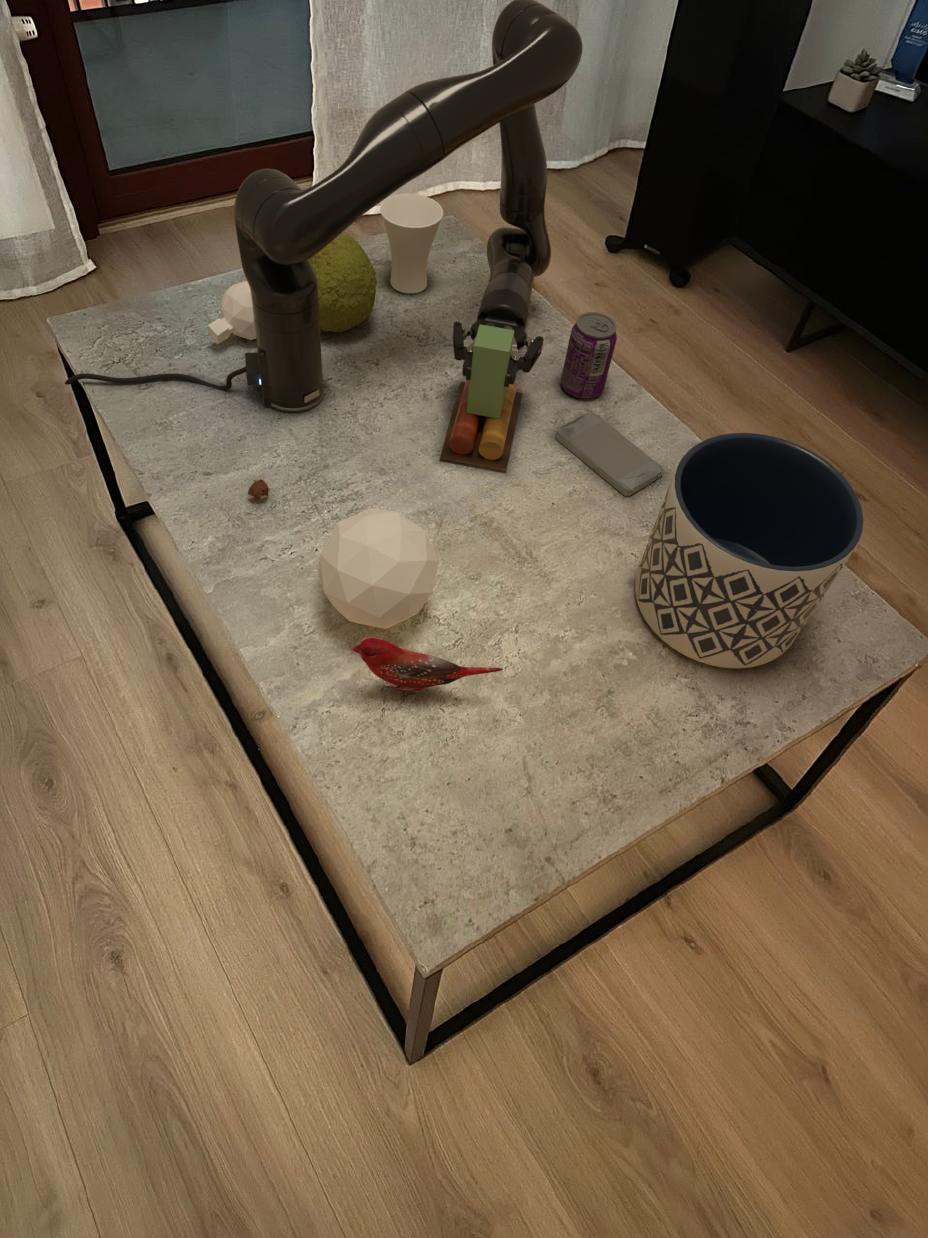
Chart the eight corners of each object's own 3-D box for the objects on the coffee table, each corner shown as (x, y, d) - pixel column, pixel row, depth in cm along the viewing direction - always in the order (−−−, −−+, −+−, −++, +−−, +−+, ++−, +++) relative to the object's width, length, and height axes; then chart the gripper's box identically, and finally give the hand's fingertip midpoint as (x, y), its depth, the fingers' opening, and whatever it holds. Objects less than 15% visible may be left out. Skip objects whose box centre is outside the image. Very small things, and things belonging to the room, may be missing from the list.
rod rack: (506, 473, 132) (509, 451, 129) (439, 460, 133) (441, 439, 129) (522, 395, 143) (525, 374, 140) (460, 384, 143) (462, 362, 140)
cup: (372, 294, 156) (373, 220, 145) (386, 261, 162) (387, 188, 151) (432, 305, 155) (437, 231, 145) (443, 271, 162) (448, 199, 151)
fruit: (262, 319, 149) (268, 220, 143) (332, 321, 159) (340, 229, 153) (320, 338, 139) (328, 233, 133) (391, 340, 149) (402, 242, 143)
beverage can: (609, 382, 147) (625, 319, 137) (594, 407, 143) (610, 344, 133) (569, 368, 148) (582, 304, 139) (553, 392, 144) (566, 328, 135)
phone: (590, 416, 142) (591, 410, 140) (664, 475, 135) (666, 469, 134) (552, 436, 138) (554, 430, 137) (627, 498, 131) (629, 492, 130)
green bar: (499, 418, 133) (509, 351, 123) (466, 412, 133) (473, 345, 124) (504, 397, 136) (514, 330, 126) (471, 391, 136) (479, 323, 127)
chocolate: (254, 507, 124) (251, 487, 121) (246, 497, 125) (243, 477, 122) (273, 499, 125) (271, 479, 122) (266, 489, 126) (263, 469, 123)
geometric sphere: (378, 602, 123) (412, 499, 118) (436, 653, 112) (476, 542, 108) (284, 593, 113) (318, 481, 109) (338, 647, 103) (378, 526, 98)
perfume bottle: (252, 295, 150) (195, 332, 145) (253, 258, 141) (192, 295, 137) (288, 331, 149) (232, 369, 144) (291, 296, 140) (231, 335, 136)
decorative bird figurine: (352, 676, 109) (351, 628, 101) (497, 686, 110) (507, 640, 102) (350, 696, 108) (348, 649, 99) (497, 707, 108) (507, 661, 100)
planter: (763, 702, 112) (830, 603, 96) (604, 617, 118) (642, 511, 102) (820, 588, 124) (888, 483, 108) (673, 516, 130) (717, 407, 114)
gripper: (460, 279, 135) (439, 347, 125) (554, 295, 134) (541, 365, 124) (456, 322, 141) (436, 391, 131) (546, 338, 140) (533, 408, 130)
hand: (487, 378), depth 127 cm, fingers closed on green bar, 5 cm apart
